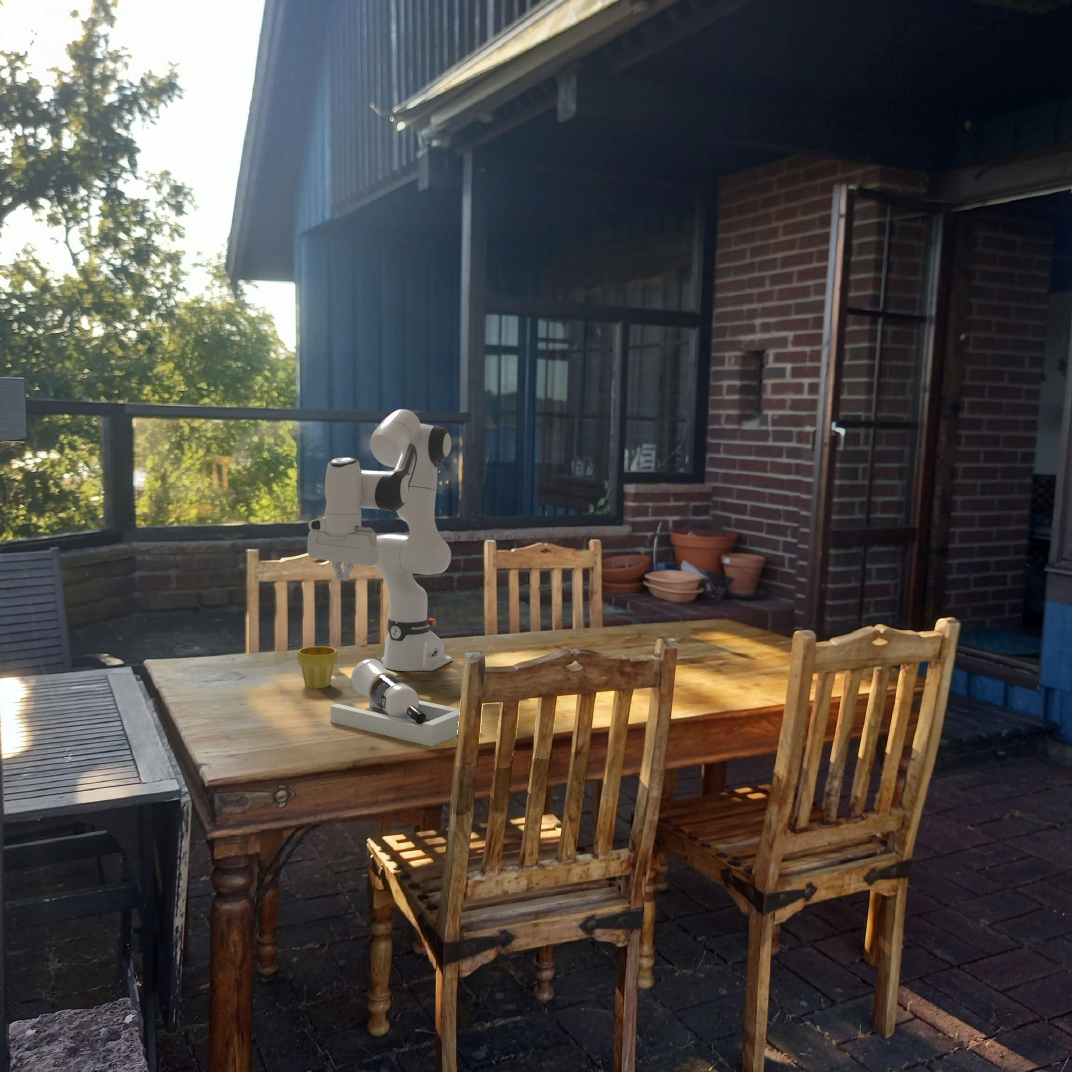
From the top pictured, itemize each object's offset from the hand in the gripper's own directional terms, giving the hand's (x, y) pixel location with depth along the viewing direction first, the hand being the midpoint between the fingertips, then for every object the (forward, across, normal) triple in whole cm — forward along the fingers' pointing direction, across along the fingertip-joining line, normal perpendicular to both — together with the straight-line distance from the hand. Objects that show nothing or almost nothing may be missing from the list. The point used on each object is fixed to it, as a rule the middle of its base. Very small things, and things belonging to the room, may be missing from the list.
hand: (342, 579), depth 258 cm
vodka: (+25, -3, -5) cm, 26 cm away
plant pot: (+34, +21, -14) cm, 42 cm away
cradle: (+33, -20, +1) cm, 39 cm away
